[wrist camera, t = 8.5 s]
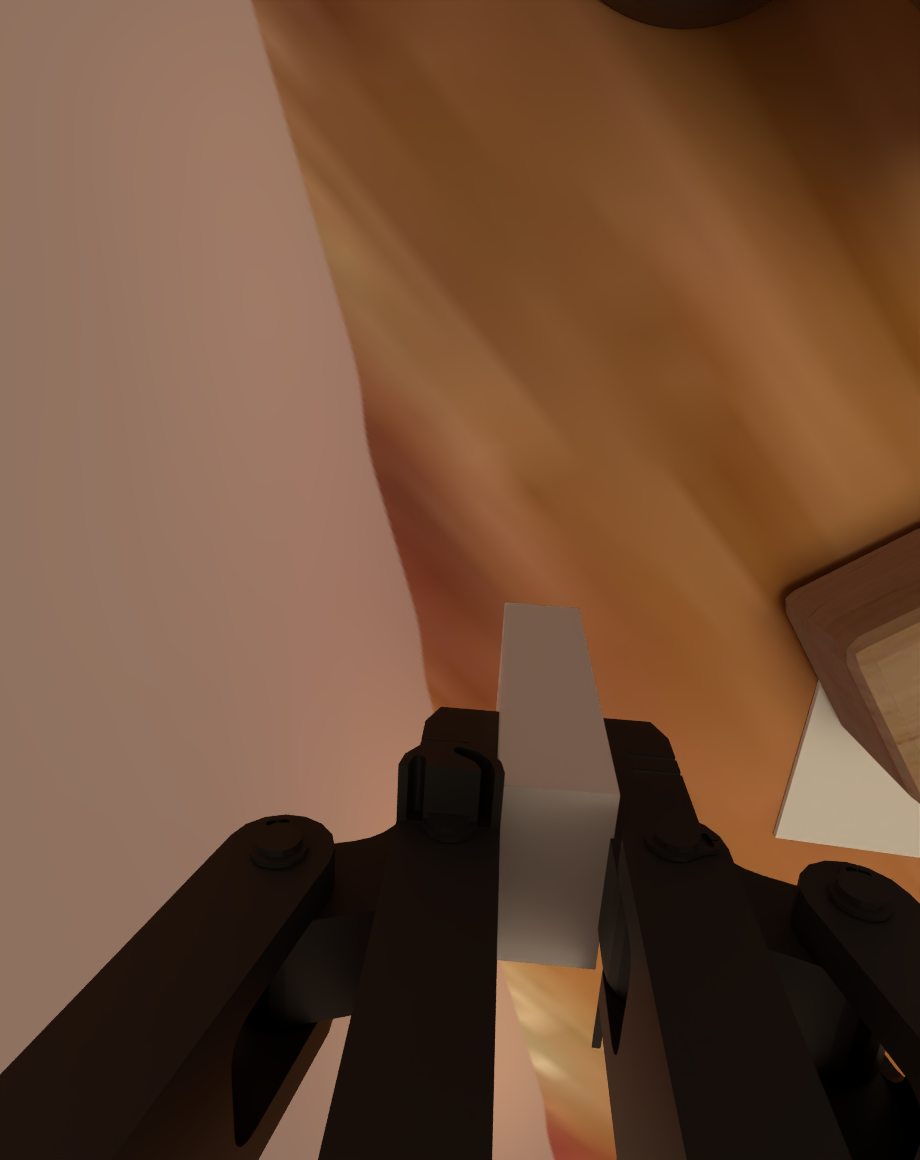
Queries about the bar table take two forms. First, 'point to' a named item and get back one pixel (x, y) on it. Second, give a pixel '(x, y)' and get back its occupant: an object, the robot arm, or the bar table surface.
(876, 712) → the wooden block
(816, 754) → the mat
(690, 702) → the bar table surface
